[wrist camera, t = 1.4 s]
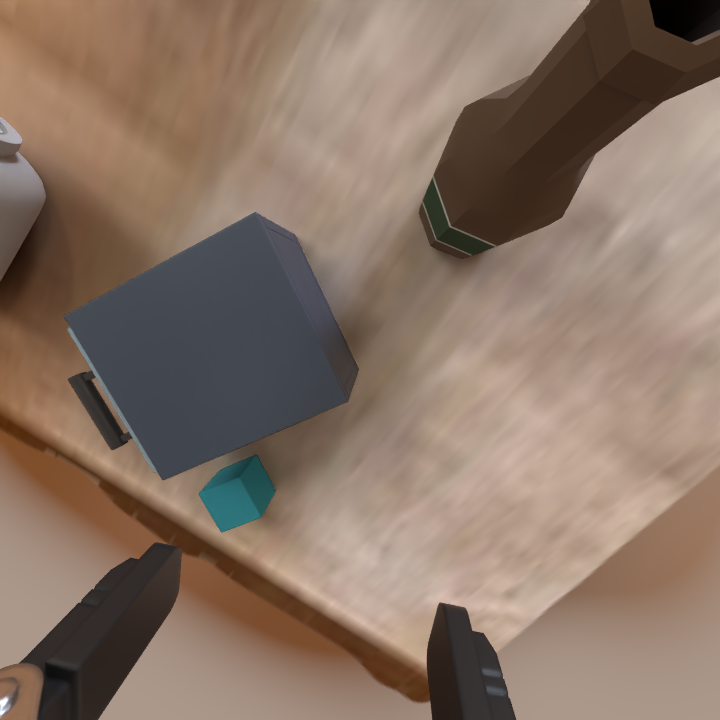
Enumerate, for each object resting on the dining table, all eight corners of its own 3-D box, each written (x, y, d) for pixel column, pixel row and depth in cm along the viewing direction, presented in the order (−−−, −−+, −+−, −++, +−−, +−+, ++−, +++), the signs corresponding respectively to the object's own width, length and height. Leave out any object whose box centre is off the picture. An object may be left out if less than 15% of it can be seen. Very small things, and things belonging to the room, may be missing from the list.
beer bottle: (458, 278, 32) (661, 254, 8) (398, 214, 31) (435, -12, 8) (527, 212, 30) (1015, -44, 7) (466, 143, 30) (774, -412, 6)
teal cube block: (220, 469, 37) (198, 493, 33) (256, 454, 37) (238, 476, 32) (240, 504, 38) (221, 533, 34) (276, 490, 37) (261, 517, 33)
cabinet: (221, 430, 37) (162, 480, 27) (153, 308, 34) (63, 315, 25) (359, 369, 34) (348, 401, 25) (294, 234, 32) (255, 211, 22)
